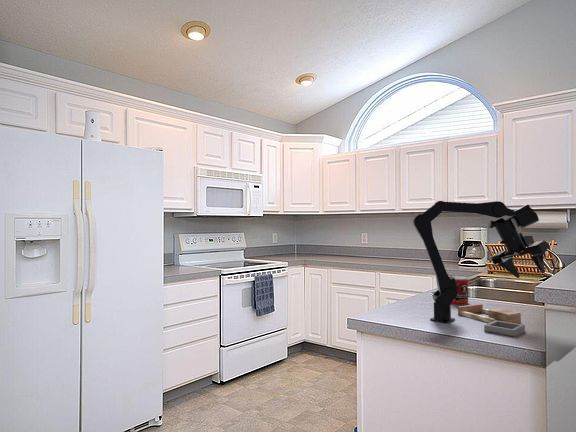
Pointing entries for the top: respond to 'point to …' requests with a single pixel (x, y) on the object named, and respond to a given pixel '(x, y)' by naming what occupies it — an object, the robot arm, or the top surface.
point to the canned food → (461, 290)
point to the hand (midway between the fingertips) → (530, 275)
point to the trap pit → (504, 328)
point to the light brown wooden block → (505, 315)
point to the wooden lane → (471, 309)
